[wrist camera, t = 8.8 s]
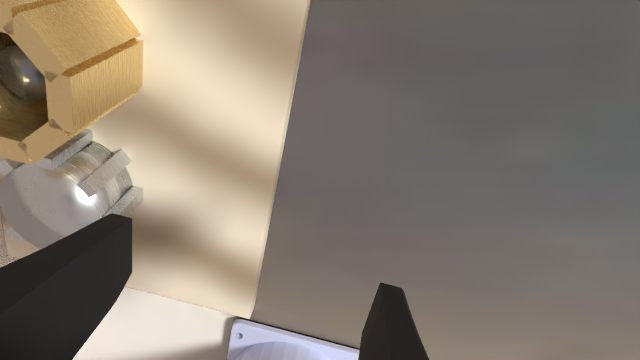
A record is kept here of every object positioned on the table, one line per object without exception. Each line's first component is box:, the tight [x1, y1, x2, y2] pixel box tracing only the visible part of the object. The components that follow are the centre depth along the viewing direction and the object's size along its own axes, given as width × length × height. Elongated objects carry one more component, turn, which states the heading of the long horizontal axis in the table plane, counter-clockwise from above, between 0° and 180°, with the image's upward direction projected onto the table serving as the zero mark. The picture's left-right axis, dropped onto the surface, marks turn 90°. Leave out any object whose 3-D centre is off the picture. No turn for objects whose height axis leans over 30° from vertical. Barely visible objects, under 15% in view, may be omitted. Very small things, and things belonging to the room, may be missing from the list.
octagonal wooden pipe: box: [0, 0, 143, 164], centre depth 18 cm, size 6×6×5 cm
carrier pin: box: [0, 44, 47, 101], centre depth 19 cm, size 2×2×4 cm
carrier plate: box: [0, 0, 311, 319], centre depth 22 cm, size 20×14×1 cm
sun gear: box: [0, 129, 143, 249], centre depth 22 cm, size 6×6×3 cm
